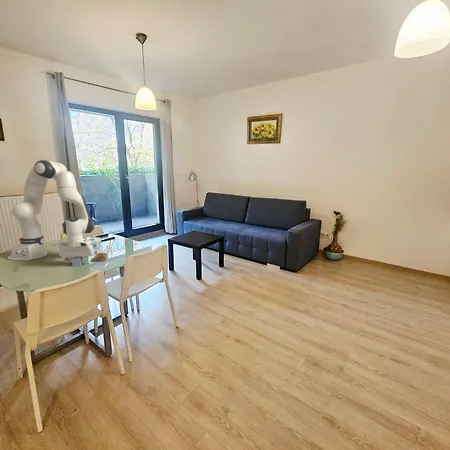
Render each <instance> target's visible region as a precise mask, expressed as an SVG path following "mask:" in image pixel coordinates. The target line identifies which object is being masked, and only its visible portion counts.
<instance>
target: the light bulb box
mask: <svg viewBox="0 0 450 450" xmlns="http://www.w3.org/2000/svg"><path fill="white" fill-rule="evenodd" d="M87 240H91V245H92V246H93V249H94V254H93V255H92V256H91V257H94V256H95V255H96V253H102V252H103V248H102V238H101V237H95V236H93V237H90V238H87Z"/></svg>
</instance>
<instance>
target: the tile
mask: <svg viewBox="0 0 450 450" xmlns="http://www.w3.org/2000/svg"><path fill="white" fill-rule="evenodd" d="M108 264H109V261H108V262H107V261H106V262H96V264H95V265H94V266H93V267H94V268H105V267H106V266H107V265H108Z"/></svg>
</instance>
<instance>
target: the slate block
mask: <svg viewBox="0 0 450 450" xmlns="http://www.w3.org/2000/svg"><path fill="white" fill-rule="evenodd" d="M82 259H83V258H82V256H74V257H73V258H72V259H71V260H72V263H71V267H81V266H82V265H83V264H84V263H81V260H82Z"/></svg>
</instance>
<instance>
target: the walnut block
mask: <svg viewBox="0 0 450 450" xmlns="http://www.w3.org/2000/svg"><path fill="white" fill-rule="evenodd" d="M93 259H94V260H93V261H94V263H98V262H104V261H106V262H107V260H108V259H109V256H108V252H99V253H96V254H95V255H93Z"/></svg>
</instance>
